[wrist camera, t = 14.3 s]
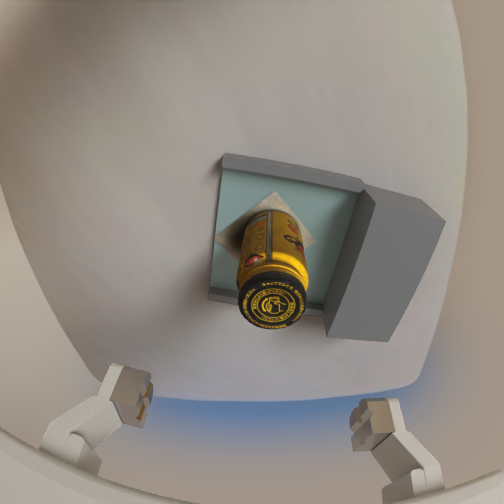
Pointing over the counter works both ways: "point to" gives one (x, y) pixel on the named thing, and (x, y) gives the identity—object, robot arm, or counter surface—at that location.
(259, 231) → the condiment
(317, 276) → the teal-floored tray
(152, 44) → the counter surface
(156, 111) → the counter surface
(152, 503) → the robot arm
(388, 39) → the counter surface
